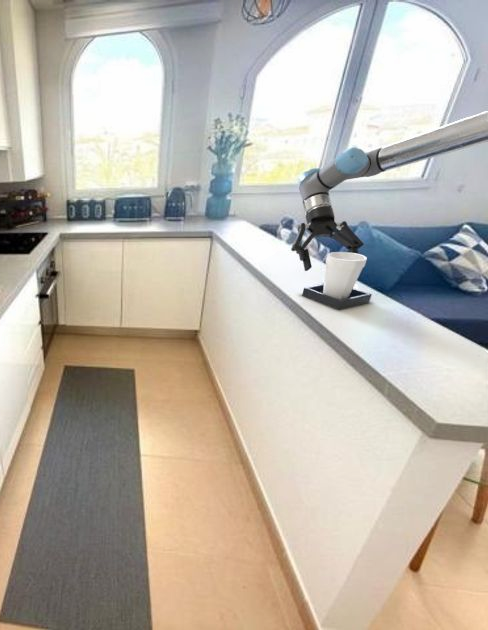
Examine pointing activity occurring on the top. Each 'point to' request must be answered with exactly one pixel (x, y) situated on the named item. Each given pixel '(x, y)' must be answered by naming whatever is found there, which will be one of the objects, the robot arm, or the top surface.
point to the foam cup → (342, 273)
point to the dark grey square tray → (353, 300)
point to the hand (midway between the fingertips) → (331, 268)
